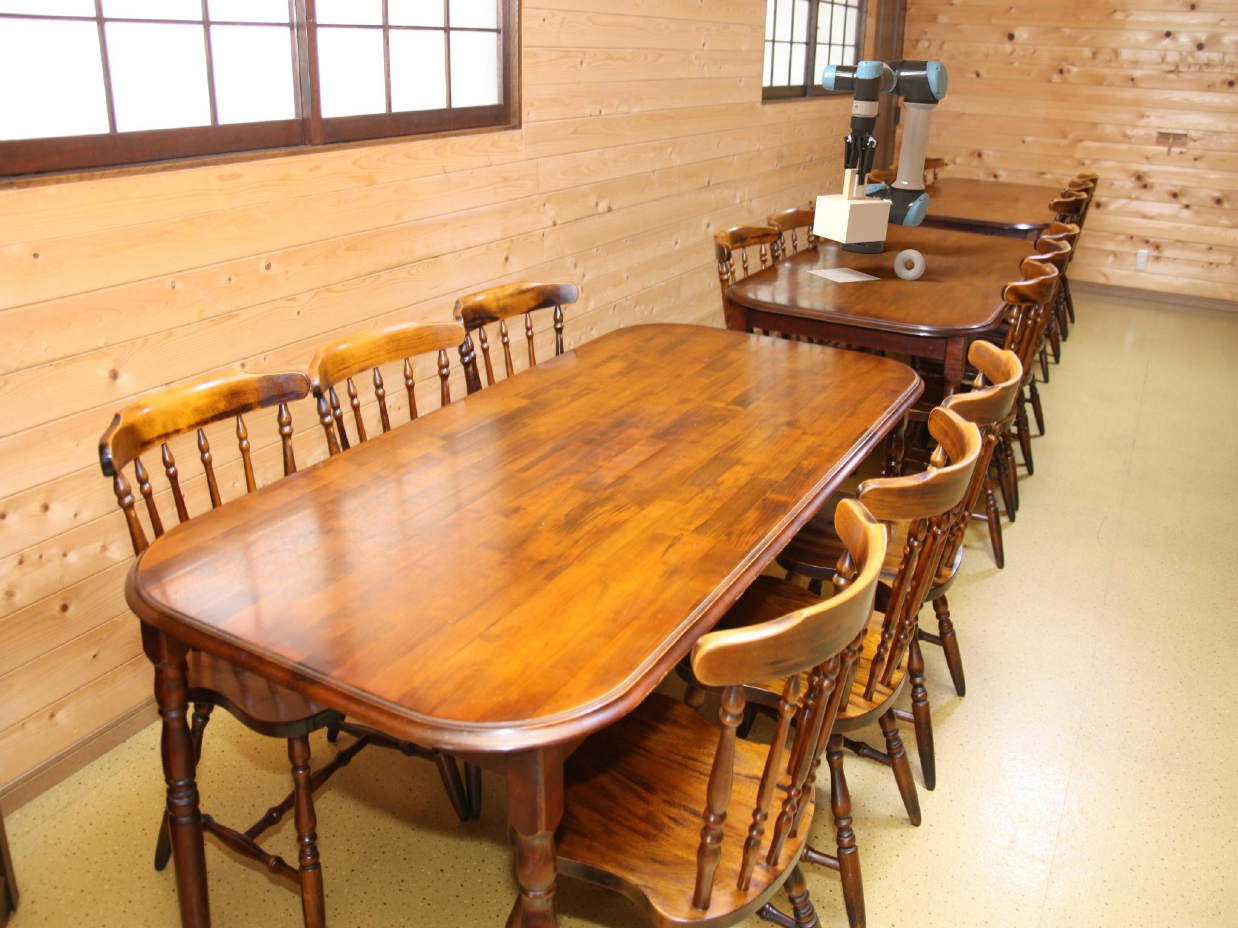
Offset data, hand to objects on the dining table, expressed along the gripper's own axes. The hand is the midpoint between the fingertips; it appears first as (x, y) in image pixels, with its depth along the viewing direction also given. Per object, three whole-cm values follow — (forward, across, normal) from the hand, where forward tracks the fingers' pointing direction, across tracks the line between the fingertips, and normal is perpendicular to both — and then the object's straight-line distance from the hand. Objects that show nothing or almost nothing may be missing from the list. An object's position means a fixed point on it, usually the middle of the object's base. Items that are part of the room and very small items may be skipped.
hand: (854, 195), depth 321 cm
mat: (+26, 0, 0) cm, 26 cm away
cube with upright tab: (+13, 0, 0) cm, 13 cm away
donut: (+26, +11, +16) cm, 33 cm away
